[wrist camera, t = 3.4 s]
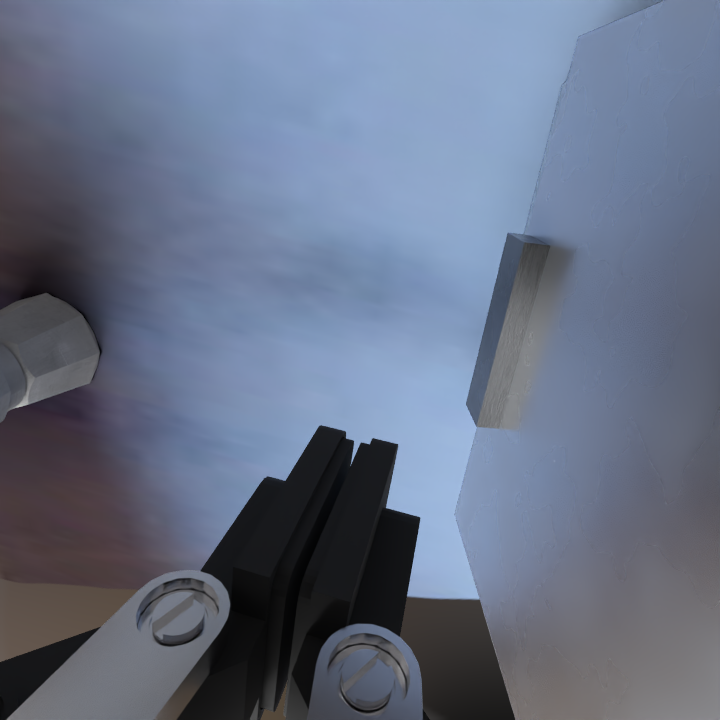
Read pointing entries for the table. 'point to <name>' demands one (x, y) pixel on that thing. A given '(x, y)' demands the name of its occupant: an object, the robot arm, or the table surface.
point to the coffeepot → (43, 351)
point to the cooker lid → (609, 392)
